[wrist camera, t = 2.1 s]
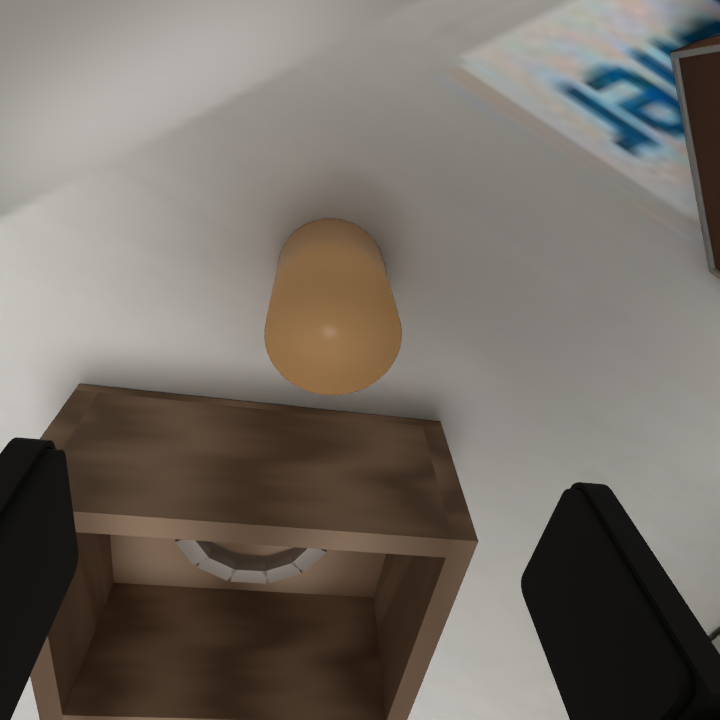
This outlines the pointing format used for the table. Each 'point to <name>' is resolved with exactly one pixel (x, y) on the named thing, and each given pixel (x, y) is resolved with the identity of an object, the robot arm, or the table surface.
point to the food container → (702, 132)
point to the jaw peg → (332, 310)
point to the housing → (250, 560)
